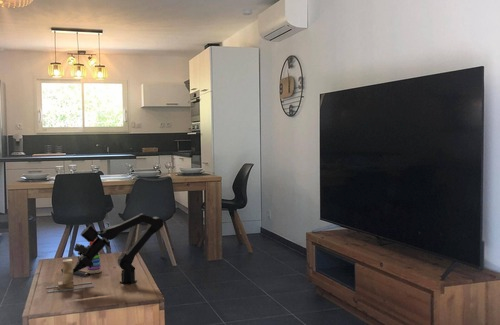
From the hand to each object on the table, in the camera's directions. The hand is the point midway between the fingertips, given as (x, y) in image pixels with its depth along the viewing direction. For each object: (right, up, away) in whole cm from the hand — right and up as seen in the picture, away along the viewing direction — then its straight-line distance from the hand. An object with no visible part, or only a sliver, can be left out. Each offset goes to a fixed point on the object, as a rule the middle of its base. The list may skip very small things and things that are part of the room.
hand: (73, 271), depth 265 cm
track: (-2, -9, 0) cm, 9 cm away
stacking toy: (+1, -7, +33) cm, 34 cm away
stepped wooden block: (-3, -8, -1) cm, 9 cm away
